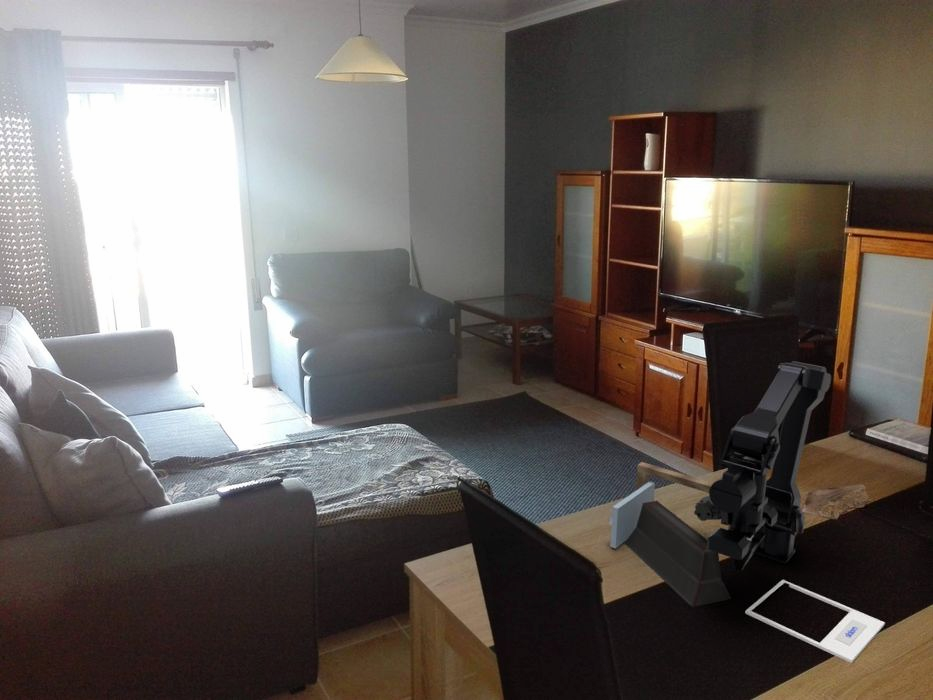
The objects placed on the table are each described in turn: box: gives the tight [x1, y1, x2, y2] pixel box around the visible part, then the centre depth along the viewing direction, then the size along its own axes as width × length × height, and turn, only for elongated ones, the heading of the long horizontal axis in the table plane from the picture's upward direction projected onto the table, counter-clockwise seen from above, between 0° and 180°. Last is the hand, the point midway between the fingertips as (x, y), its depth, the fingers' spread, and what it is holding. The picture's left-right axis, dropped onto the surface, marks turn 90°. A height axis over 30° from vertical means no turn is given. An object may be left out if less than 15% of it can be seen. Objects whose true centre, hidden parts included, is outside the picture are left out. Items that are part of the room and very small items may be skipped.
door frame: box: [635, 461, 731, 530], centre depth 159 cm, size 23×2×12 cm, turn 50°
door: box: [607, 480, 656, 549], centre depth 158 cm, size 16×3×9 cm, turn 139°
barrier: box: [624, 500, 732, 608], centre depth 145 cm, size 24×9×10 cm, turn 19°
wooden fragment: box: [802, 484, 872, 520], centre depth 175 cm, size 26×11×1 cm, turn 123°
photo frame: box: [744, 579, 886, 664], centre depth 131 cm, size 15×1×18 cm
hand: (738, 569), depth 138 cm, fingers closed
